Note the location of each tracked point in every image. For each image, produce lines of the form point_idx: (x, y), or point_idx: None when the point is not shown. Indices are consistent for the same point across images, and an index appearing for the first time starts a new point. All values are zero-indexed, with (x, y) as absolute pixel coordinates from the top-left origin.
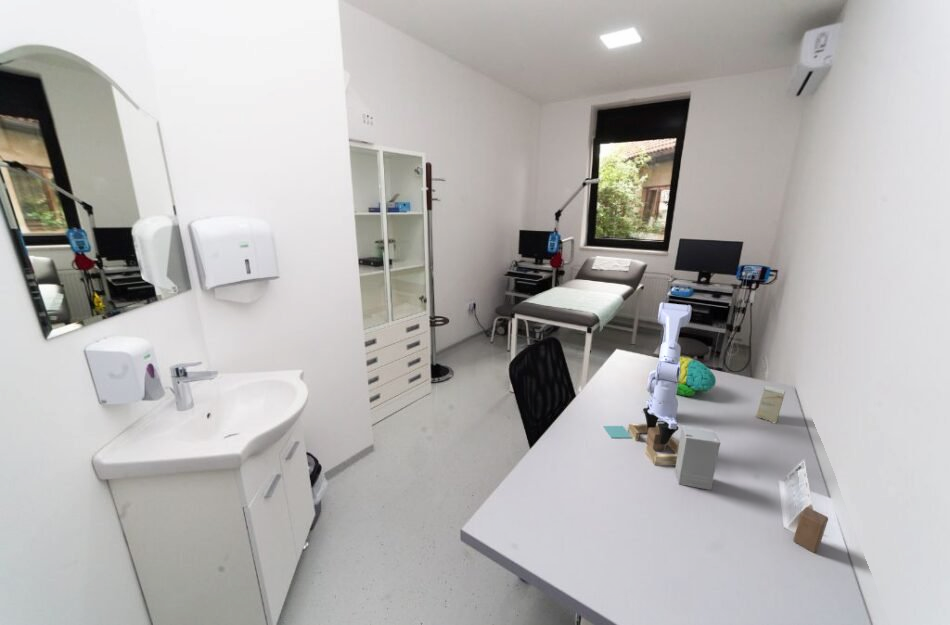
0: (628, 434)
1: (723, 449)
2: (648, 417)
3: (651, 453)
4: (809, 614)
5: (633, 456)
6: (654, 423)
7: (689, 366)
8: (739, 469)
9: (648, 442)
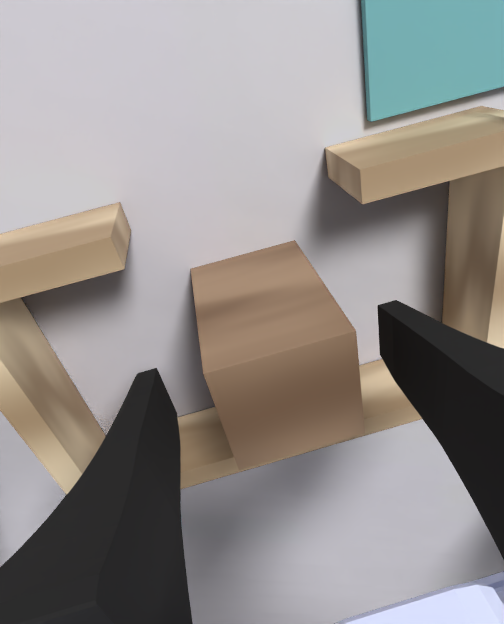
0: (421, 96)
1: (296, 572)
2: (483, 398)
3: (8, 255)
4: None
5: (12, 53)
6: (423, 402)
7: None
8: None
9: (268, 263)
